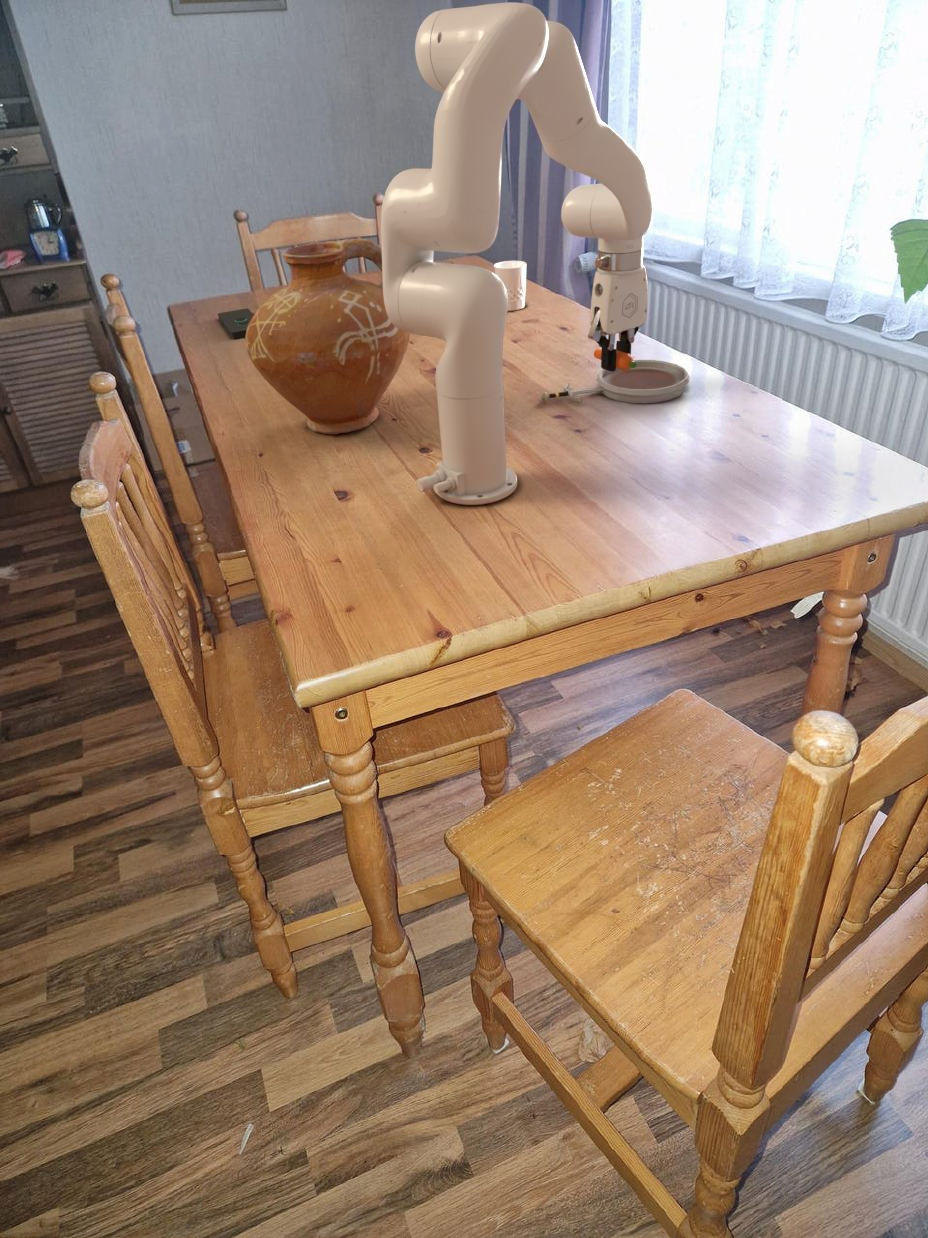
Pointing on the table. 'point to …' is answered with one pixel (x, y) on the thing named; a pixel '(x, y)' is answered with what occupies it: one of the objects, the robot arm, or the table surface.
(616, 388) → the frying pan
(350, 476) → the table surface
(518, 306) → the white cup
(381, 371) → the jug
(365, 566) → the table surface
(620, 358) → the carrot
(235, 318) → the smart home device
